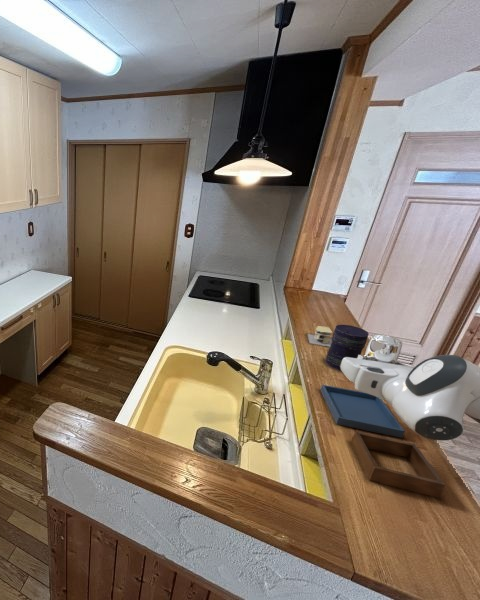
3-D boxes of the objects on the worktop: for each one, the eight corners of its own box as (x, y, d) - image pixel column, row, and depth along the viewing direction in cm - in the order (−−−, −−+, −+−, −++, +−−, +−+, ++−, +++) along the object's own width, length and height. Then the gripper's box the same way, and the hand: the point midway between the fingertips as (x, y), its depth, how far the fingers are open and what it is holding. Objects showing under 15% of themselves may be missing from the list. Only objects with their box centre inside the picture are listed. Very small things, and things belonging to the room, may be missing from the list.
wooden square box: (409, 456, 84) (415, 444, 82) (438, 497, 73) (445, 485, 72) (350, 442, 88) (354, 431, 87) (369, 480, 77) (374, 467, 76)
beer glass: (353, 385, 94) (369, 339, 89) (355, 375, 99) (371, 331, 94) (385, 395, 90) (404, 347, 85) (385, 384, 95) (403, 338, 89)
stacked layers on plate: (307, 333, 149) (310, 323, 147) (330, 338, 145) (334, 327, 143) (309, 343, 141) (312, 331, 139) (334, 347, 137) (338, 336, 135)
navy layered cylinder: (333, 356, 131) (344, 322, 125) (362, 368, 122) (374, 332, 117) (319, 362, 126) (329, 327, 121) (347, 374, 118) (360, 338, 113)
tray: (375, 400, 105) (378, 394, 104) (402, 438, 90) (405, 431, 89) (320, 390, 110) (322, 384, 109) (336, 424, 95) (338, 417, 94)
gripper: (462, 385, 76) (428, 356, 88) (355, 368, 83) (337, 344, 95) (451, 407, 78) (419, 376, 90) (348, 388, 85) (332, 362, 97)
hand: (377, 359), depth 93 cm, fingers closed on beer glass, 6 cm apart
